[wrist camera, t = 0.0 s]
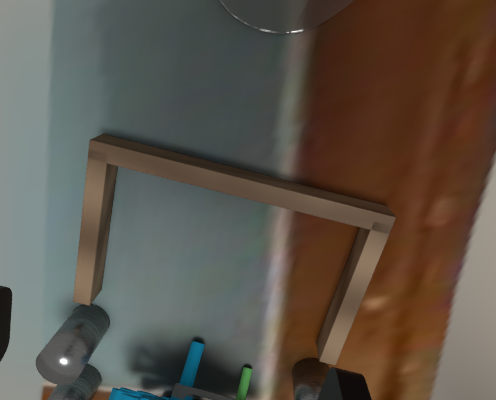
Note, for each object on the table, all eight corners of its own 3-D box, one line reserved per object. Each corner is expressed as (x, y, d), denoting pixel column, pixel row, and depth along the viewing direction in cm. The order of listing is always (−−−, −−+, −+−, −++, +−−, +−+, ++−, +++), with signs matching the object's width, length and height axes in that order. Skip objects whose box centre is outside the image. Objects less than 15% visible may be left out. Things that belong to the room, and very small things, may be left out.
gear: (103, 400, 31) (106, 424, 22) (131, 326, 34) (143, 321, 25) (229, 432, 34) (276, 465, 25) (246, 361, 36) (295, 367, 27)
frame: (103, 133, 25) (89, 139, 24) (387, 206, 26) (395, 217, 24) (85, 286, 30) (73, 301, 28) (331, 346, 30) (335, 365, 28)
